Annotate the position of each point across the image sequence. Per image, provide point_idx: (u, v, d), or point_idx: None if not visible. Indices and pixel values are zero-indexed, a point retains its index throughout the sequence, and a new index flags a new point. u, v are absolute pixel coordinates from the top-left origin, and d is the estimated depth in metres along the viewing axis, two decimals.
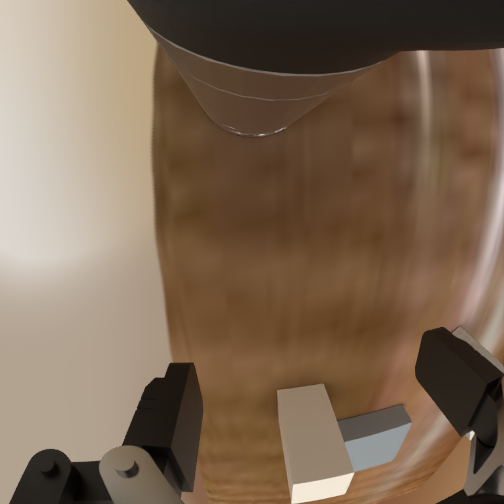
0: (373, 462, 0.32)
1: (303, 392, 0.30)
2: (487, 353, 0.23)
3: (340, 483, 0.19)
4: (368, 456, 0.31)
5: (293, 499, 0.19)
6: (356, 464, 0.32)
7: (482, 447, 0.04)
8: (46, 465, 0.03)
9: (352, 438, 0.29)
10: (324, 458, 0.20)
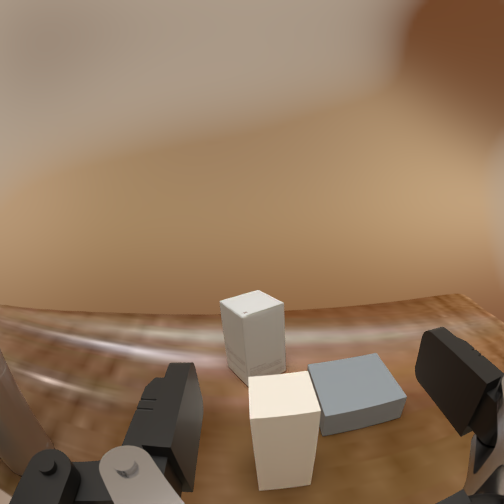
0: (374, 370, 0.35)
1: None
2: (224, 333, 0.45)
3: (271, 381, 0.24)
4: (361, 379, 0.34)
5: (302, 412, 0.20)
6: (376, 384, 0.33)
7: (482, 447, 0.04)
8: (46, 464, 0.03)
9: (321, 406, 0.31)
10: None
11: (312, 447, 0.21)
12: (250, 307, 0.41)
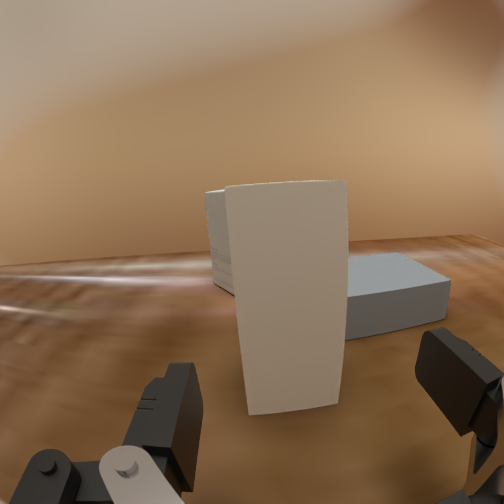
0: (400, 262, 0.28)
1: None
2: (209, 234, 0.38)
3: None
4: (386, 268, 0.27)
5: (316, 180, 0.12)
6: (407, 271, 0.26)
7: (482, 447, 0.04)
8: (46, 465, 0.03)
9: None
10: None
11: (340, 286, 0.14)
12: None
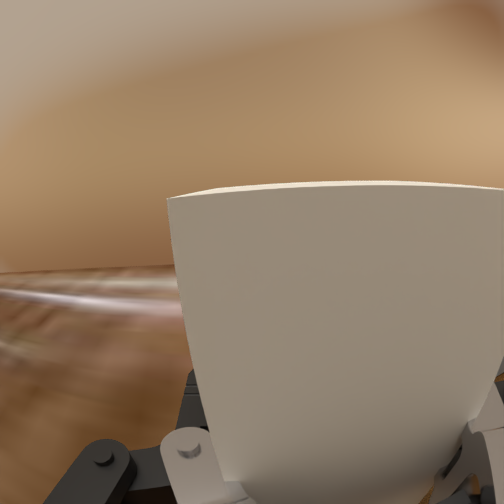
0: None
1: None
2: None
3: None
4: None
5: (481, 187, 0.03)
6: None
7: None
8: (102, 456, 0.04)
9: None
10: None
11: (461, 431, 0.04)
12: None
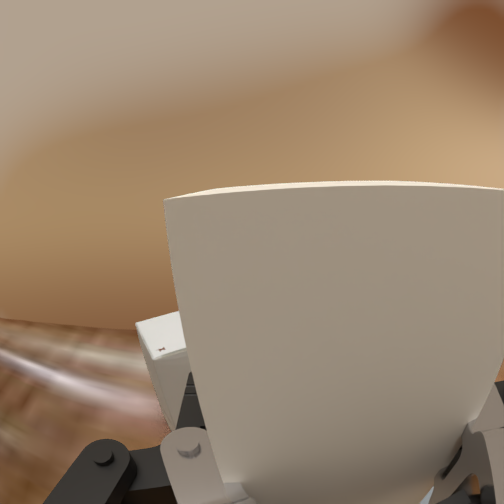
0: None
1: None
2: None
3: (289, 183, 0.07)
4: None
5: (481, 187, 0.03)
6: None
7: None
8: (102, 456, 0.04)
9: None
10: None
11: (461, 432, 0.04)
12: (175, 338, 0.22)
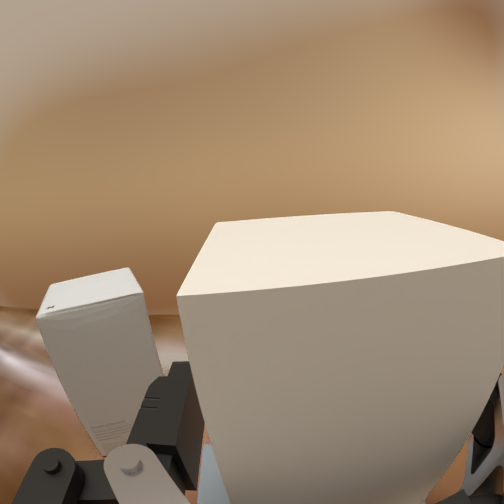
0: None
1: None
2: None
3: (291, 221, 0.07)
4: None
5: (482, 256, 0.03)
6: None
7: (479, 447, 0.04)
8: (50, 464, 0.03)
9: None
10: None
11: (449, 457, 0.04)
12: (72, 297, 0.15)
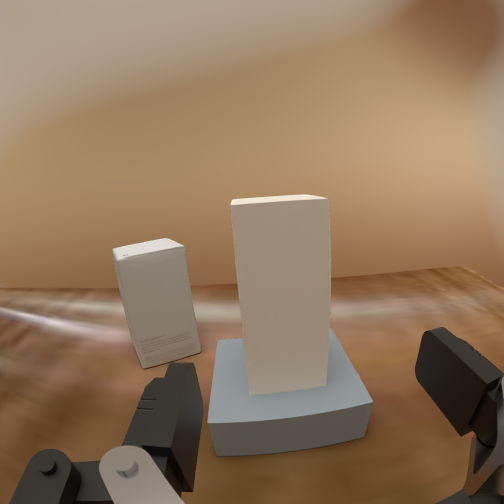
0: None
1: None
2: None
3: (260, 198, 0.20)
4: None
5: (304, 199, 0.16)
6: None
7: (482, 447, 0.04)
8: (46, 465, 0.03)
9: (210, 405, 0.18)
10: None
11: (325, 285, 0.17)
12: (138, 250, 0.28)
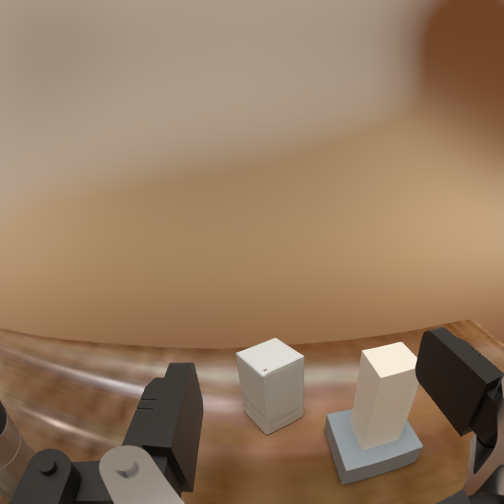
0: None
1: (356, 431, 0.30)
2: (240, 382, 0.41)
3: (380, 351, 0.29)
4: None
5: (412, 367, 0.25)
6: None
7: (482, 447, 0.04)
8: (46, 465, 0.03)
9: (342, 460, 0.27)
10: (366, 377, 0.28)
11: (411, 400, 0.26)
12: (270, 362, 0.37)
